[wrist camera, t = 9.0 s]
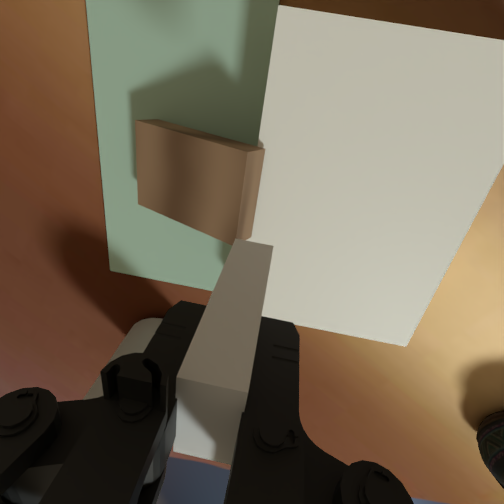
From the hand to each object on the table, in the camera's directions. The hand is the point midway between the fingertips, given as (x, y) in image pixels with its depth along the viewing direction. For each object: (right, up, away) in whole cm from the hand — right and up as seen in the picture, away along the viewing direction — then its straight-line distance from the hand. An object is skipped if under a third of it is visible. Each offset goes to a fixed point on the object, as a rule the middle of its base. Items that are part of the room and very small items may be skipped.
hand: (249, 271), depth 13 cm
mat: (-6, +8, +12) cm, 15 cm away
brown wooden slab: (-3, +6, +10) cm, 12 cm away
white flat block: (+7, +5, +11) cm, 14 cm away
